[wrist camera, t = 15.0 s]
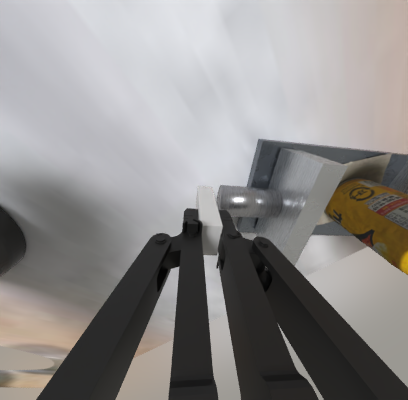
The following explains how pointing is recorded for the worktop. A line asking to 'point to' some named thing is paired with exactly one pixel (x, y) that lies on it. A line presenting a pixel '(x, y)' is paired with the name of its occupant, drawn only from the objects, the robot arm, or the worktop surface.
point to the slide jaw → (287, 199)
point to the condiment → (371, 210)
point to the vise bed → (269, 151)
